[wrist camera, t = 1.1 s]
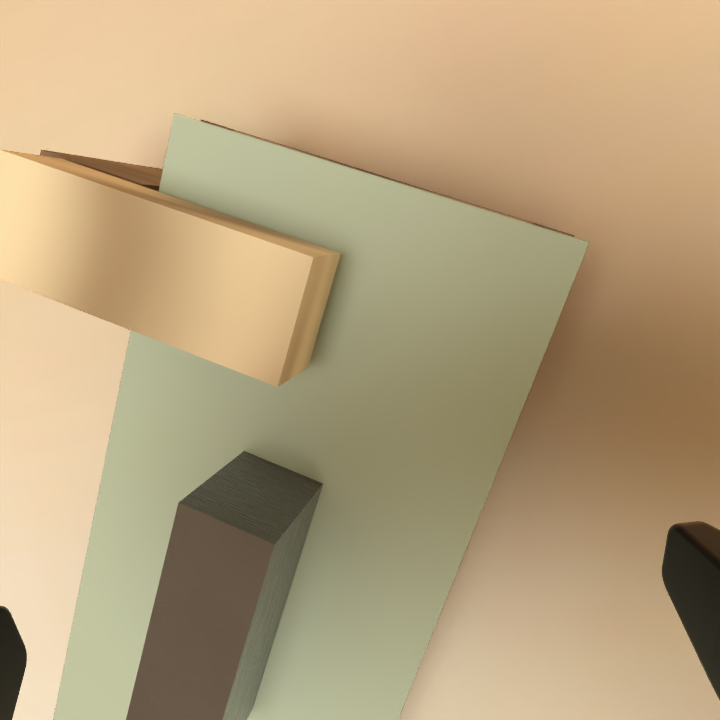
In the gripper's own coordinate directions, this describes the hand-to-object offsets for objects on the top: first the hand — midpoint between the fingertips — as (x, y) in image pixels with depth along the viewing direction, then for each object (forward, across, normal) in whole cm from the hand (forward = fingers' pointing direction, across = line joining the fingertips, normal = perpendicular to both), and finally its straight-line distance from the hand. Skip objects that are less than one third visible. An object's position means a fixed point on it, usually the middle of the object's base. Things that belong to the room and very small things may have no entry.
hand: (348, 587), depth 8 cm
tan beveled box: (+10, +4, -2) cm, 10 cm away
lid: (+8, +3, +7) cm, 11 cm away
